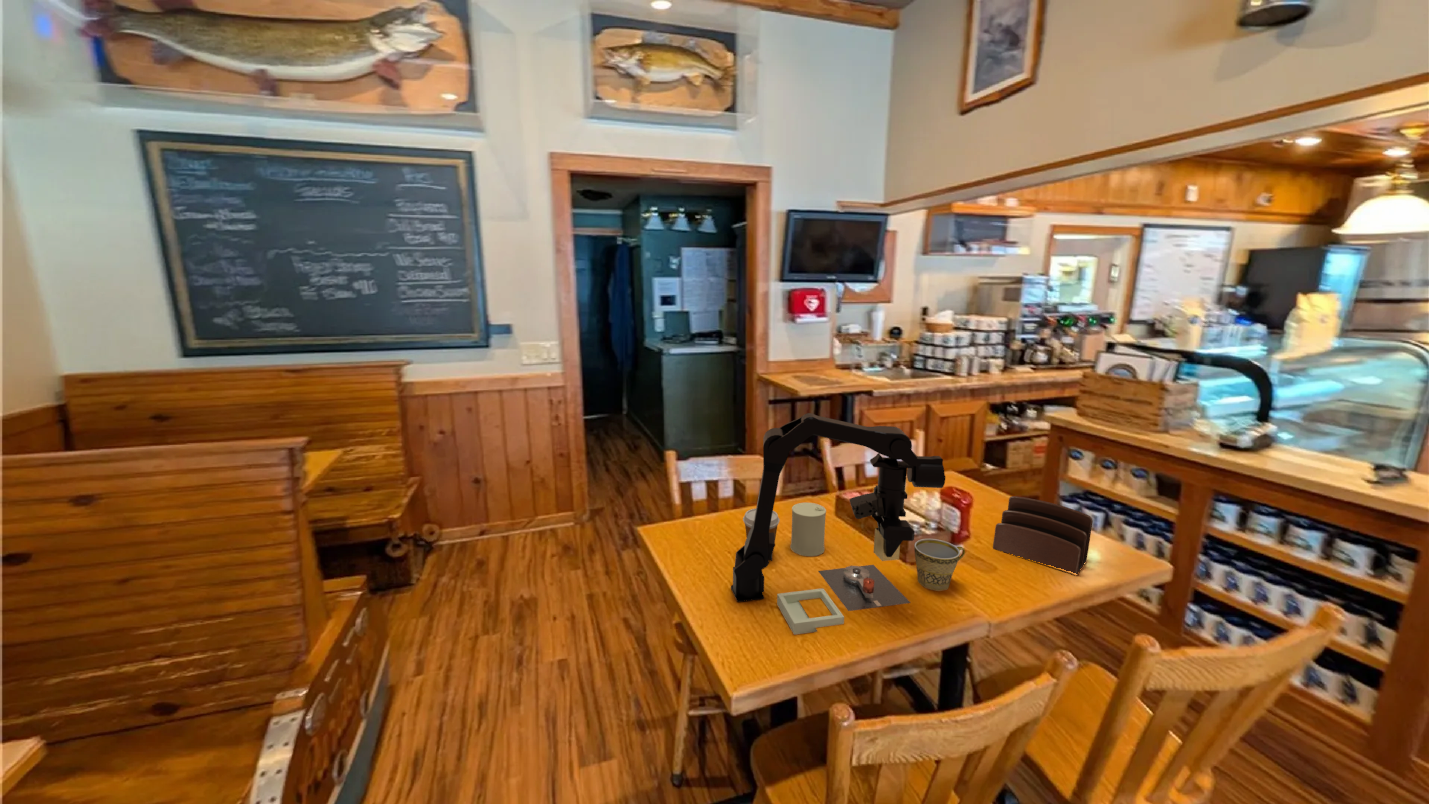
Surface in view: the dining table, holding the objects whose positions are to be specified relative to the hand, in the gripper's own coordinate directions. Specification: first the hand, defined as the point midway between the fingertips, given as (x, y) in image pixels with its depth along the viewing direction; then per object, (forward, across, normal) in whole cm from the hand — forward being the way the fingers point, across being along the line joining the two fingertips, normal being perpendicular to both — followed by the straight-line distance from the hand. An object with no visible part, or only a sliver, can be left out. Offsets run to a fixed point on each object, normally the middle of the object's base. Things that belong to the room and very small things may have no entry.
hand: (886, 551), depth 119 cm
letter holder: (+12, -25, +46) cm, 54 cm away
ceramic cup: (+12, -8, +15) cm, 21 cm away
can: (+13, -24, -15) cm, 31 cm away
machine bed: (+12, -4, -4) cm, 14 cm away
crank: (+11, -4, -4) cm, 12 cm away
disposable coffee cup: (+13, -18, -28) cm, 35 cm away
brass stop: (+1, 0, 0) cm, 1 cm away
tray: (+12, +7, -17) cm, 22 cm away
